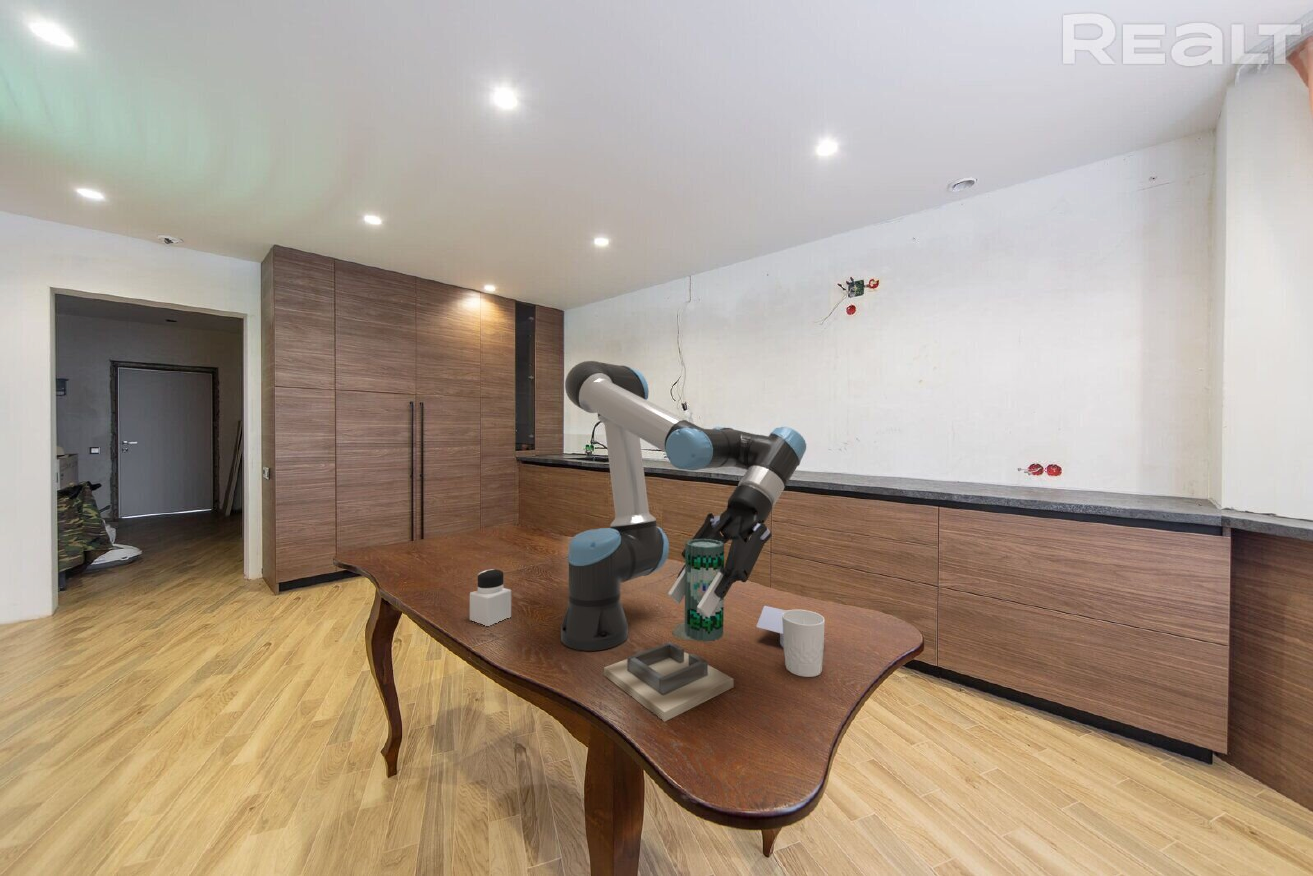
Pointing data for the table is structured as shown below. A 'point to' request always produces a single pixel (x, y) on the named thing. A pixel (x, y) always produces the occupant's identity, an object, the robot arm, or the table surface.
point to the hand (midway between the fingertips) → (687, 605)
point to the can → (702, 588)
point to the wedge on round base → (772, 621)
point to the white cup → (803, 642)
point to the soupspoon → (681, 632)
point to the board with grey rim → (668, 679)
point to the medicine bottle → (490, 599)
